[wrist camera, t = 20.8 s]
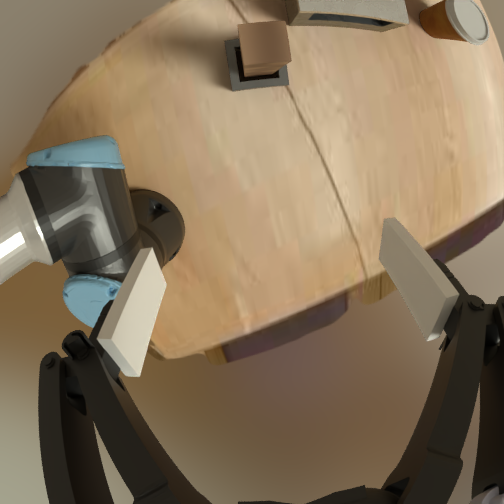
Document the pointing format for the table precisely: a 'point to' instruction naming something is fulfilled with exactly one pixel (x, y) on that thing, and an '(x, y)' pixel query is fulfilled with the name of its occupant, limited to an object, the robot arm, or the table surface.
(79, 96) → the table surface
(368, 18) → the box
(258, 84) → the gray square socket
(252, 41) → the brown wooden bar
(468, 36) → the disposable coffee cup
